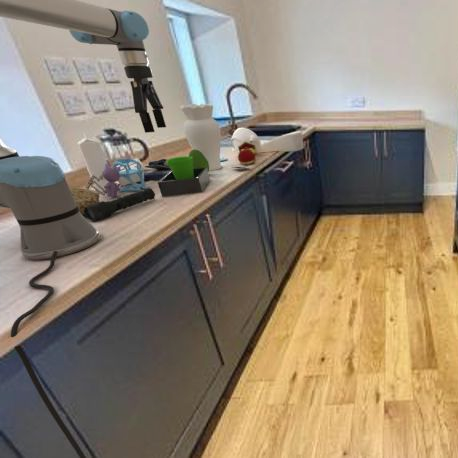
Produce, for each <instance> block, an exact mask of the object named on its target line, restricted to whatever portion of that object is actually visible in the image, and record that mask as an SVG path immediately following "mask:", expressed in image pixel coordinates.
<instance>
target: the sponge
mask: <svg viewBox="0 0 458 458" xmlns="http://www.w3.org/2000/svg"><path fill="white" fill-rule="evenodd" d="M70 190H71V192H72V195H73V197H74V199H75V202H76V204H77V206H78V209H79V211H80V213H81V214H82V215H85V214H84V209H85V207H87V206H89V205H92V204H95V203H99V202H101V201H100V193H99V192H97V191H96V190H95V189H90V188H89V189H87V188H79V187H76V188H71V189H70Z"/></svg>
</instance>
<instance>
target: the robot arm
mask: <svg viewBox="0 0 458 458" xmlns="http://www.w3.org/2000/svg"><path fill="white" fill-rule="evenodd" d="M0 18H7V19H11V20H16V21H20V22H21V21H22V22H26V23H31V24H36V25H43V26H47V27H52V28H58V29H63V30H68V31H69V33H70V34H71V36H72V38H73V39H74V40H76V41H77V42H79V43H83V44H89V45H108V46H109V45H112V46H116V48H117V51H118V54H119V58H120V61H121V64H122V65H124V67H123V69H124V72H125V75H126V78H127V79H133V80H130V81H129V84H130V87H131V91H132V100H133V106H134V113H135V114H139V117H140V121H141V124H142V128H143V130H144V133H145V134H146V133H147V134H149V133H155V128H154V125H153V122H152V119H151V115H150V112H148V103H149V104H150V106H151V108H152V110H151V111H152V114H153V117H154V120H155V123H156V127H157V128H158V129H160V128H162V129H163V128H167V125H166V121H165V118H164V115H163V111H162V110H164V106H163V104H162V103H161V99H160V98H159V95H158V93H157V91H156V89H155V86H154V83H153V81H152V80H149V79H152V78H153V77H154V75H153V72H152V68H151V66H149V64H150V61H149V59H148V58H149V57H150V55H149V54H147V52H146V48H145V44H144V41H145V40H146V39H147V38H148V36H149V34H150V29H149V25H148V23H147V21H146V19H145V18H144V17H143V16H142V15H141V14H140V13H138V12H136V11H132V10H123V11H119V10H115V9H112V8H107V7H104V6H99V5H96V4H93V3H89V2H85V1H81V0H0ZM71 190H72V189H71V188H70V186H69V183H68V181H67V179H66V177H65V172H64V170H63V169H62V168H61V166H60V164H59V163H58V161H56V160H55V159H53V158H51V157H49V156H43V155H31V156H30V155H21V156H20V155H19V153H18V152H17V150H16V149H14V148H12V147H10V146H8V145H5V144H4V143H3V141H2V139H1V138H0V208H4V209H5V208H6V209H10V211H11V213H12V214H13V216H14V218H15V220H16V222H17V224H18V226H19V229H20V251H21V253H22V255H23V257H24V259H26V260H30V261H31V260H32V261H44V260H50V261H49V262H50V263H49V265H48V267H47V268H46V269H44V270H43V271H41V272H40V273H38V274H36V275H34V276H33V277H32V278H30V280H29V282H28V285H29V286H30V287H31V288H36V289H44V290H48V292H47V293H46V295H44V297H43V298H41V299H40V300H39V301H38V302H37V303H36V304H35V305H34V306H33V307H32V308H31V309H29V310H27V311H26V312H24V313H22V314H21V315H19V316H18V317H17V318H16V319H15V321H14V322H13V324H12V326H11V330H10V337H11V338H15V337H16V336H17V335H18V329H19V326H20V324H21V322H22V321H23V320H25V319H26V318H27V317H29V316H31V315H32V314H33V313H35V312H36V311H38V310H39V309H40V307H41V306H42V305H44V304H45V303H46V302H47V301H48V300H49V299H50V298H51V297H52V296H53V294H54V291H55V289H54V287H53V286H51V285H49V284H48V285H47V284H41V283H40V284H38V283H35V282H36V281H37V280H38V279H40V278H42V277H44V276H45V275H46V274H48V273H49V272H50V271H51V270H52V269H53V268H54V266H55V263H56V259H57V258H60V257H64V256H68V255H72V254H74V253H77V252H81V251H82V250H85V249H88V248H90V247H91V246H93V245H95V244H96V243H98V242H99V241H100V239H101V235H100V233H99V231H98V230H97V229H96V227H94V226H93V225H92V223H91V222H90V220H89V219H88V218H87V217H86V216H85V215H84V214H81V213H80V211H79V209H78V206H77V204H76V202H75V199H74V197H73V195H72V192H71ZM88 220H89V221H88ZM14 350H15V351H16V353H17V355H18V356H19V358H20V360H21V362H22V364H23V366H24V368H25V370H26V372H27V374H28V376H29V378H30V380H31V382H32V384H33V385H34V387H35V389H36V391H37V393H38V395H39V396H40V398H41V400H42V401H43V403H44V405H45V407H46V409H47V410H48V412H49V413H50V415H51V417H52V418H53V419H54V421H55V422H56V425H58V427H59V429H60V430H61V431H62V433H63V435H64V436H65V438H66V439H67V440H68V442H69V444H70V445H71V447H72V448H73V449H74V451H75V452H76V454H77V456H78V457H79V458H87V456H86V455H85V453H84V452H83V450H82V448H81V447H80V445H79V444H78V442H77V441H76V439H75V437H74V436H73V434H72V433H71V432H70V430H69V429H68V427H67V425H66V424H65V423H64V420H63V419H62V418H61V417H60V415H59V414H58V411H57V410H56V409H55V407H54V405H53V404H52V402H51V400H50V398H49V396H48V395H47V393H46V391H45V389H44V387H43V386H42V384H41V381H40V380H39V378H38V376H37V374H36V372H35V369H34V368H33V366H32V364H31V362H30V360H29V358H28V356H27V354H26V352H25V351H24V350H23V347H22V346H21V345H16V346H14Z"/></svg>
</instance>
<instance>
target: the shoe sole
mask: <svg viewBox="0 0 458 458" xmlns="http://www.w3.org/2000/svg"><path fill="white" fill-rule="evenodd" d="M259 140H260V143H261V150H260V151H259V152H258V153H257V154H259V153H270V152H298V151H301V150H303V149H304V148H305V147H304V146H305V145H304V138H303V131H301V130H300V131H299V130H298V131H291V132H289V133H286V134H283V135H280V136H277V137H275V138H272V139H271V140H265V139H264V140H263V139H259Z"/></svg>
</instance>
